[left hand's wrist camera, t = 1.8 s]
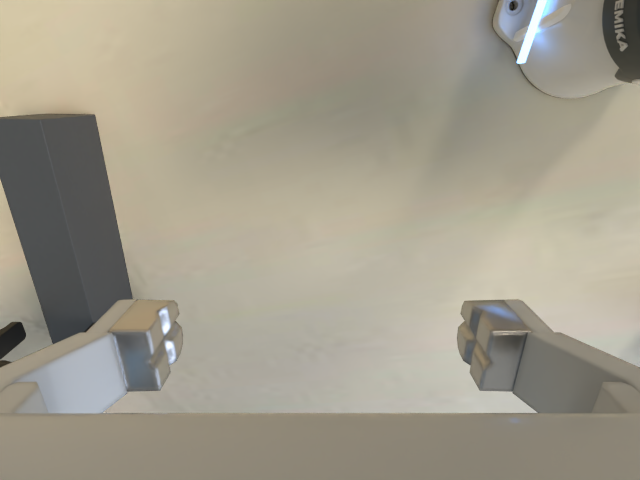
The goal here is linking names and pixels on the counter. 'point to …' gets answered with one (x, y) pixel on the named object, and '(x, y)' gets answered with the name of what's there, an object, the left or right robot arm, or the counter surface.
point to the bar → (64, 217)
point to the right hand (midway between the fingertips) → (60, 328)
